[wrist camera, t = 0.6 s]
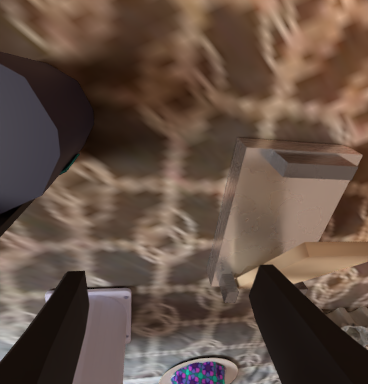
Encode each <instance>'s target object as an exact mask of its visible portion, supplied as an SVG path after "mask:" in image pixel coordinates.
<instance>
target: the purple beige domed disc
mask: <svg viewBox="0 0 368 384" xmlns="http://www.w3.org/2000/svg"><path fill="white" fill-rule="evenodd" d="M201 361H214V362H206V363H195V362H201ZM215 362H218V363H221V364H222V365H224V366H225V368H226V373H224V367H223V366H222V365H217V364H216V363H215ZM191 363H193V364H191ZM188 364H190V365H188ZM186 365H188V366H187V367H186V368H182V369H179V368H181V367H183V366H186ZM178 369H179V370H178ZM176 370H177V371H176ZM175 371H176V372H175ZM174 372H175V376H174V377H173V378H172V379H171V376H172V375H173V373H174ZM237 374H238V368H237V366H236V365H235V364H234V363H233V362H231V361H228V360H226V359H220V358H203V359H196V360H192V361H188V362H185V363H182V364H180V365H177V366H175V367H174V368H172V369H170V370H169V371H167V372H166V373H165V374H164V375H163V376H162V377H161V378H160V380H159V384H230V383H231V382H232V381H233V380H234V379H235V378H236V376H237ZM171 382H172V383H171Z"/></svg>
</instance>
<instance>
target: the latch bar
mask: <svg viewBox="0 0 368 384" xmlns="http://www.w3.org/2000/svg"><path fill="white" fill-rule="evenodd" d="M365 262H368V242H304V243H302V244H300V245H298V246H296V247H294V248H293V249H291V250H289V251H287V252H285V253H283V254H281V255H279V256H277V257H276V258H274V259H272V260H270V261H268V262H266V263H264V264H262V265H267V264H273V265H274V266H275V267H276V268H277V269H278V270H279V271H280V272H281V273H282V274H283V275H284V276H285V277H286V278H287V279H288V280H289V281H290V282H292V283H293V284H295V283H299V282H302V281H305V280H309V279H312V278H315V277H319V276H322V275H325V274H329V273H332V272H335V271H339V270H342V269H345V268H349V267H352V266H355V265H358V264H362V263H365ZM258 268H259V267H257V268H255V269H253V270H251V271H249V272H247V273H245V274H243V275H242V276H240V277H238V278H236V279H234V280H235V283H236V286H237V289H239V288H252V285H253V282H254V279H255V277H256V274H257V271H258Z"/></svg>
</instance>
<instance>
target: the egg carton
mask: <svg viewBox="0 0 368 384" xmlns="http://www.w3.org/2000/svg"><path fill="white" fill-rule="evenodd" d="M320 310H321V311H322V309H320ZM322 312H323V311H322ZM325 315H326V316H327V317H329V318H330V319H331V320H332V321H333V322H334V323H335V324H337V325H338V326H339V327H340V328H341V329H342V330H343V331H345V332H346V333H347V334H348V335H349V336H351V337H352V338H353V339H354V340H356V341H357V342H358V343H359V344H361V345H362V346H363V347H364V348H366V345H367V344H368V308H367V307H366V306H363V307H359V308H358V309H357V310H355V311H353V312H347V311H346V310H345V308H337V309H336V310H335V311H333V312H331V313H328V314H325Z"/></svg>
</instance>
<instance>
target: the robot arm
mask: <svg viewBox="0 0 368 384" xmlns="http://www.w3.org/2000/svg"><path fill="white" fill-rule="evenodd" d="M249 298H250V302H251V306H252V309H253V313H254V316H255V319H256V322H257V325H258V327H259V330H260V332H261V334H262V337H263V339H264V342H265V344H266V347H267V349H268V351H269V354H270V356H271V359H272V361H273V363H274V366H275V368H276V371H277V373H278V375H279V378H280V381H281V383H282V384H368V350H367V349H366V348H364V347H363V346H362V345H361V344H359V343H358V342H357V341H356V340H354V339H353V338H352V337H351V336H349V335H348V334H347V333H346V332H345V331H343V330H342V329H341V328H340V327H339V326H338V325H337V324H335V323H334V322H333V321H332V320H331V319H330V318H329V317H327V316H326V315H325V314H324V313H323V312H322V311H321V310H320V309H319V308H318V307H316V306H315V305H314V304H313V303H312V302H311V301H310V300H309V299H308V298H307V297H306V296H305V295H304V294H303V293H302V292H301V291H300V290H299V289H298V288H297V287H296V286H295V285H294V284H293V283H292V282H290V281H289V280H288V279H287V278H286V277H285V276H284V275H283V274H282V273H281V272H280V271H279V270H278V269H277V268H276V267H275V266H274V265H273V264H267V265H259V268H258V271H257V274H256V277H255V279H254V282H253V285H252V288H251V291H250V294H249ZM45 300H46V303H45V305H44V306H43V308H42V309H41V310H40V312H39V313H38V315H37V316H36V317H35V319H34V320H33V321H32V323H31V324H30V325H29V327H28V328H27V329H26V331H25V332H24V333H23V334H22V336H21V337H20V338H19V339H18V341H17V342H16V343H15V344H14V346H13V347H12V348H11V349H10V351H9V352H8V353H7V354H6V356H5V357H4V358H3V359H2V360H1V361H0V384H123V372H124V356H125V344H126V343H129V342H130V341H131V289H129V288H108V289H87V283H86V276H85V271H68V272H67V273H66V274H65V275H64V276H63V278H62V280H61V281H60V283H59V284H58V286H57V287H56V289H55V290H52V291H47V292H46V294H45Z"/></svg>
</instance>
